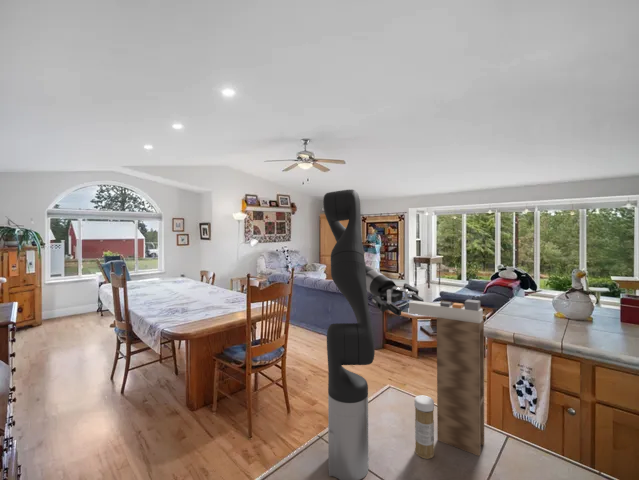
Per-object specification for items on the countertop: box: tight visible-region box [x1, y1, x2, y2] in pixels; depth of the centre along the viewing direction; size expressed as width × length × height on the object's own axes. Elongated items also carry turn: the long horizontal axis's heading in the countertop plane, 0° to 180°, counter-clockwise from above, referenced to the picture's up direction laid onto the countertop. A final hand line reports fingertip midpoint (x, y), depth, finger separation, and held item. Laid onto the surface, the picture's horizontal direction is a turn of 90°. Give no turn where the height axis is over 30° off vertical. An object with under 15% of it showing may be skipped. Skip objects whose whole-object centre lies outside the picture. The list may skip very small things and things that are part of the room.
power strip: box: [408, 299, 484, 323], centre depth 83 cm, size 18×4×5 cm, turn 52°
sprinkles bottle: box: [414, 394, 435, 460], centre depth 77 cm, size 5×5×14 cm
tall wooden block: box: [436, 317, 485, 457], centre depth 81 cm, size 10×6×32 cm, turn 52°
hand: (411, 308), depth 92 cm, fingers open, 8 cm apart
